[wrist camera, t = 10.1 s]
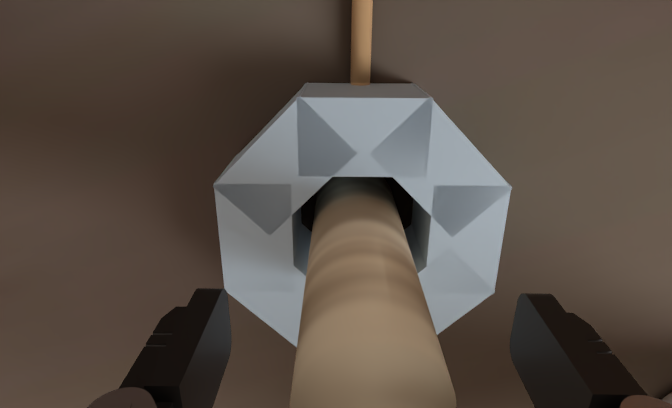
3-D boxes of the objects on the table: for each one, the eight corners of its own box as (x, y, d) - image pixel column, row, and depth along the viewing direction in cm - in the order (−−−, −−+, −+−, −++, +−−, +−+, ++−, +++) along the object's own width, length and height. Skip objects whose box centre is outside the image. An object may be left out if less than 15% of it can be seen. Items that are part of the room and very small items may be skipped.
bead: (230, 81, 19) (203, 95, 15) (490, 82, 19) (526, 97, 15) (248, 300, 23) (230, 354, 19) (461, 302, 23) (484, 356, 19)
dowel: (315, 165, 20) (286, 342, 9) (395, 166, 20) (465, 343, 9) (316, 237, 21) (292, 467, 10) (391, 238, 21) (447, 469, 10)
